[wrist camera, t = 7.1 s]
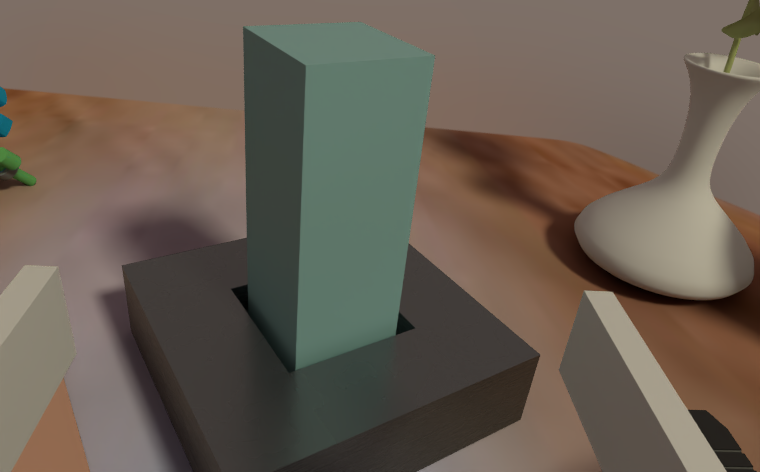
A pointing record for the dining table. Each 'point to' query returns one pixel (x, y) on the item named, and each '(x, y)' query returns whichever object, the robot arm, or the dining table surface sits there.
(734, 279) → the flower in vase
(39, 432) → the mat
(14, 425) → the robot arm
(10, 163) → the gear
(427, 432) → the socket block
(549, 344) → the dining table surface
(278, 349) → the peg
